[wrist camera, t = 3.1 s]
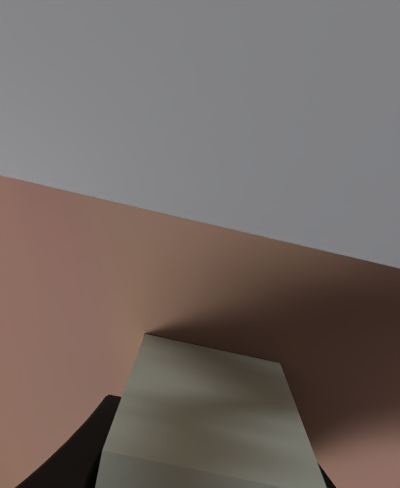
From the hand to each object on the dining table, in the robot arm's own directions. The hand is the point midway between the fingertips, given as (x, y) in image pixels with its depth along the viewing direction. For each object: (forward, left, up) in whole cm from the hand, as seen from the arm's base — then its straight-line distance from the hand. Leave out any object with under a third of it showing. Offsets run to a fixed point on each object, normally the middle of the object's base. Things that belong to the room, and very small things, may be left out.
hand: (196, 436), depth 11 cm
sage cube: (0, 0, -1) cm, 1 cm away
